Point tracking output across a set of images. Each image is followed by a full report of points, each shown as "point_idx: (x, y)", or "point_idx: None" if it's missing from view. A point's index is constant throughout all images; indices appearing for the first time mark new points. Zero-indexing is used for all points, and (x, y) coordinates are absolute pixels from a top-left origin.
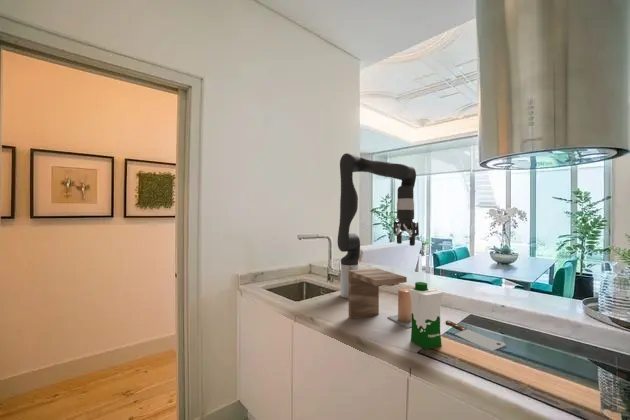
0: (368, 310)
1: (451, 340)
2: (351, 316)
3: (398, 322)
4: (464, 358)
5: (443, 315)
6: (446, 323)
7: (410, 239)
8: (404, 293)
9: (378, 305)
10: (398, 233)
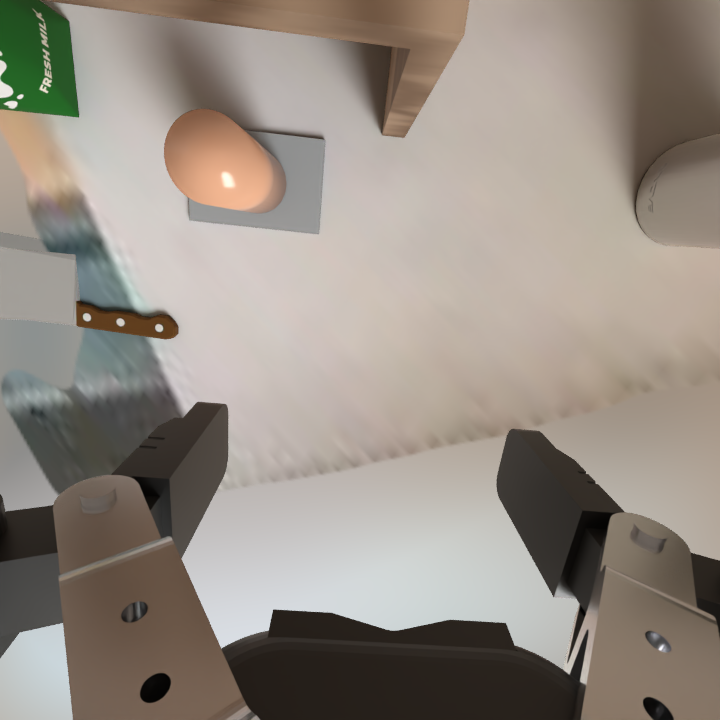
0: (392, 53)
1: (28, 191)
2: None
3: (245, 130)
4: None
5: (243, 384)
6: (163, 315)
7: (161, 449)
8: (178, 122)
9: (386, 122)
10: (601, 559)
